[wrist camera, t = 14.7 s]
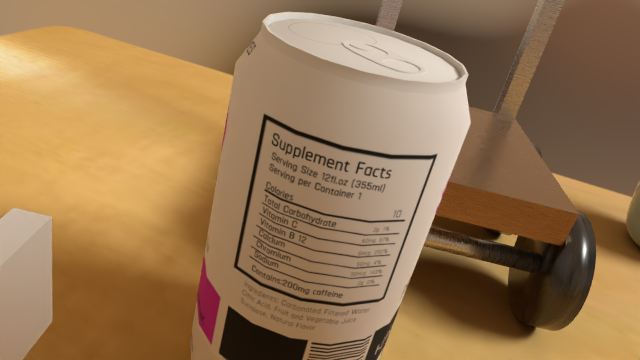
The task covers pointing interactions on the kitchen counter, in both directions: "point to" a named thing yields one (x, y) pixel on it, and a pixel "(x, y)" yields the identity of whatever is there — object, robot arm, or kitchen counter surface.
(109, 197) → the kitchen counter surface
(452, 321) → the kitchen counter surface
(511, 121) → the trolley
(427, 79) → the supplement can
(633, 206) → the cup
